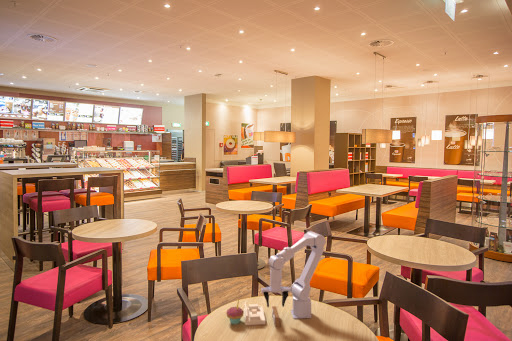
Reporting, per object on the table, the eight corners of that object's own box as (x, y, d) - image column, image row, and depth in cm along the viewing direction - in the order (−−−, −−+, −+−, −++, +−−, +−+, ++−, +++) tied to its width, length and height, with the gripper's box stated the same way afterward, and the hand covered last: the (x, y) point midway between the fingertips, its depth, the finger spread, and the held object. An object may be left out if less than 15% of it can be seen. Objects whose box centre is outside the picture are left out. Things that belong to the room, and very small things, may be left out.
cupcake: (244, 317, 161) (244, 295, 160) (242, 327, 153) (242, 303, 152) (228, 316, 162) (228, 294, 161) (224, 326, 154) (224, 302, 153)
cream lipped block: (262, 310, 168) (262, 302, 168) (265, 324, 155) (265, 314, 155) (243, 311, 167) (243, 302, 167) (245, 325, 154) (245, 315, 154)
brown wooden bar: (275, 315, 164) (276, 306, 163) (279, 327, 153) (279, 317, 153) (271, 315, 164) (271, 306, 163) (274, 327, 153) (274, 317, 152)
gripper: (288, 276, 161) (288, 301, 162) (260, 277, 160) (260, 302, 161) (291, 281, 154) (290, 308, 155) (262, 282, 153) (261, 309, 154)
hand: (275, 306), depth 158 cm, fingers open, 7 cm apart
